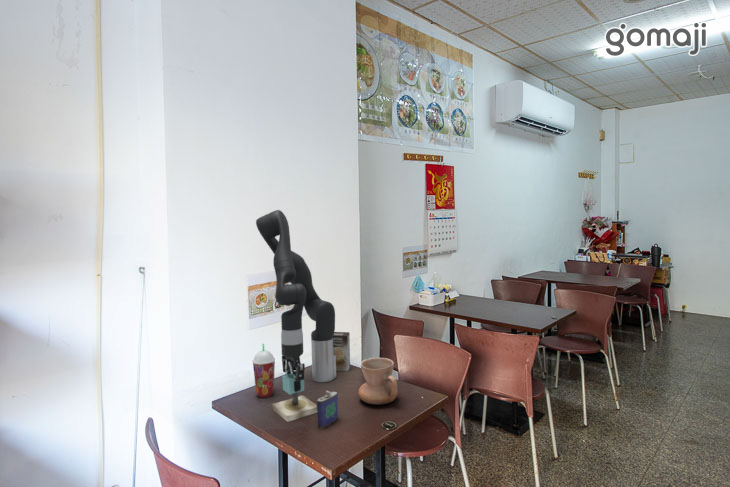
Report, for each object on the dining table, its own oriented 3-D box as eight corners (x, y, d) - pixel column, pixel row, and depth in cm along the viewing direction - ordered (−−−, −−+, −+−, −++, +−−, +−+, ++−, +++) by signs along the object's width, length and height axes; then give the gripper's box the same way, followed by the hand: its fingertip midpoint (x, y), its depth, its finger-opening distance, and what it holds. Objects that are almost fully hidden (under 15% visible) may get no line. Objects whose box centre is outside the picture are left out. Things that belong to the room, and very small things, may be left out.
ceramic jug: (348, 398, 158) (347, 361, 158) (378, 388, 167) (377, 352, 166) (379, 415, 144) (378, 374, 143) (410, 403, 153) (409, 364, 152)
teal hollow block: (297, 385, 153) (296, 372, 152) (304, 390, 148) (303, 376, 148) (282, 389, 149) (282, 375, 149) (289, 394, 145) (289, 380, 145)
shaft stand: (302, 400, 158) (302, 376, 157) (318, 411, 148) (318, 386, 147) (272, 409, 151) (271, 384, 150) (287, 422, 141) (286, 395, 140)
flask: (334, 416, 144) (333, 385, 144) (340, 418, 143) (340, 387, 142) (315, 427, 137) (314, 395, 136) (322, 429, 135) (321, 397, 135)
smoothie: (278, 390, 167) (277, 340, 166) (272, 399, 159) (270, 347, 158) (258, 390, 168) (256, 340, 167) (250, 398, 160) (248, 347, 159)
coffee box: (327, 371, 187) (326, 335, 187) (331, 365, 194) (329, 331, 193) (348, 371, 186) (347, 335, 185) (350, 366, 193) (349, 331, 192)
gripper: (311, 343, 144) (312, 392, 145) (293, 334, 156) (294, 379, 157) (291, 347, 140) (292, 397, 141) (273, 338, 151) (275, 384, 152)
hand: (293, 388), depth 149 cm, fingers closed on teal hollow block, 5 cm apart
